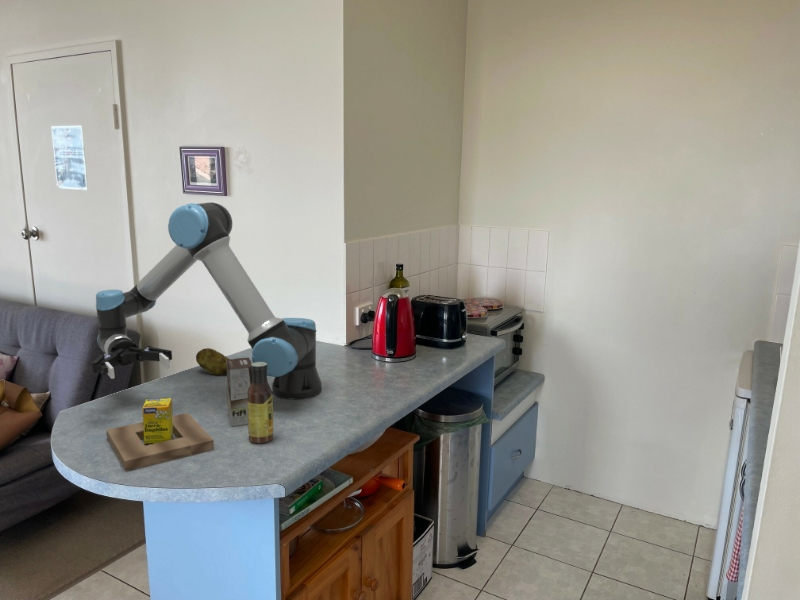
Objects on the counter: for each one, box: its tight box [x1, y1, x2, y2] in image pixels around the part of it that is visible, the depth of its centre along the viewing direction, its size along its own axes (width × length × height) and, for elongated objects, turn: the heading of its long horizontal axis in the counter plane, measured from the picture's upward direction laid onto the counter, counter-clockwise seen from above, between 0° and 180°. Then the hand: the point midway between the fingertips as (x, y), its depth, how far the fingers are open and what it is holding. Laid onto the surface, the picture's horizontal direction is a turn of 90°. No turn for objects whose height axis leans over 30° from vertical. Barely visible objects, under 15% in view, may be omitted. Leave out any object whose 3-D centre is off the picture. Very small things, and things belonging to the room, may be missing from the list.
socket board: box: [106, 412, 215, 472], centre depth 147 cm, size 20×20×2 cm
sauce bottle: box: [247, 362, 274, 444], centre depth 150 cm, size 7×6×20 cm
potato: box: [195, 347, 230, 376], centre depth 199 cm, size 8×13×8 cm, turn 57°
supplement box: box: [142, 397, 174, 446], centre depth 146 cm, size 6×6×11 cm
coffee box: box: [226, 357, 253, 427], centre depth 162 cm, size 9×6×16 cm
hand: (140, 368), depth 155 cm, fingers open, 13 cm apart
